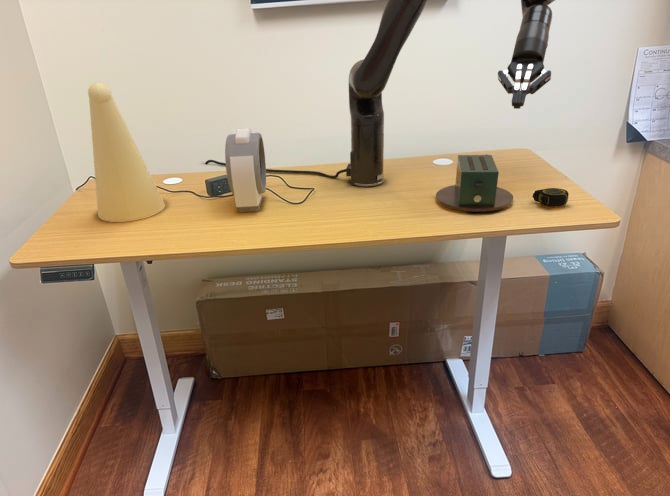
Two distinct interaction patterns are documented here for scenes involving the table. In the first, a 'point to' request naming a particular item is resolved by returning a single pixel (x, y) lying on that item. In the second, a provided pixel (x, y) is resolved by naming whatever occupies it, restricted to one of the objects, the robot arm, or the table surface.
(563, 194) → the tape measure
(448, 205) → the toaster
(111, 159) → the cone light
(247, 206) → the alarm clock
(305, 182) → the table surface
